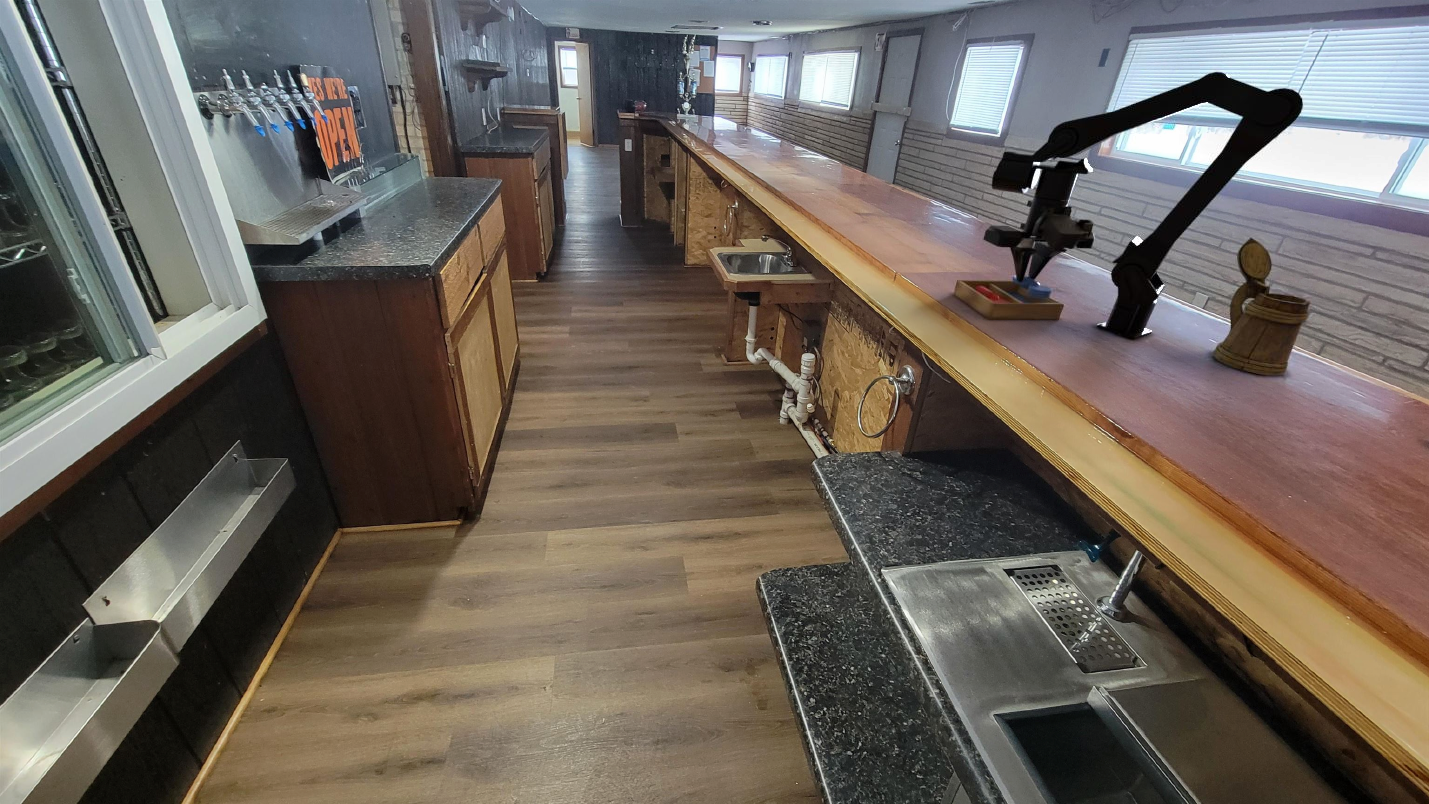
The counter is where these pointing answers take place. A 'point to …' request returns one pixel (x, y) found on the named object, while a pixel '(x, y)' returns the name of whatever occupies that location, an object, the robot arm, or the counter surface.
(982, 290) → the red spoon
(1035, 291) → the blue spoon
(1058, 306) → the cutlery tray
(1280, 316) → the wooden mug
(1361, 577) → the counter surface
